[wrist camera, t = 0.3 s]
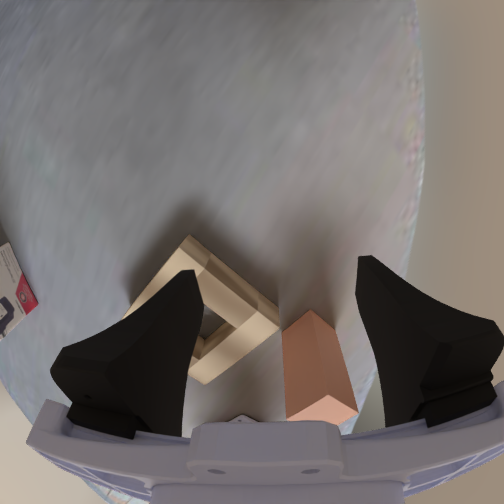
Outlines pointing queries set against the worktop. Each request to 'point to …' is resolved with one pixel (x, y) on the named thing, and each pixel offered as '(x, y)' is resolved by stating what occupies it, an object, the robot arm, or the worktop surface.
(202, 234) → the worktop surface
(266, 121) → the worktop surface
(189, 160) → the worktop surface
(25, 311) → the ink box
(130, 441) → the robot arm
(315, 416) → the peg
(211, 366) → the socket block
